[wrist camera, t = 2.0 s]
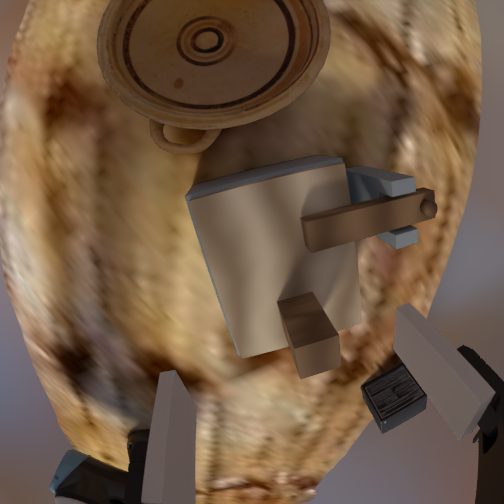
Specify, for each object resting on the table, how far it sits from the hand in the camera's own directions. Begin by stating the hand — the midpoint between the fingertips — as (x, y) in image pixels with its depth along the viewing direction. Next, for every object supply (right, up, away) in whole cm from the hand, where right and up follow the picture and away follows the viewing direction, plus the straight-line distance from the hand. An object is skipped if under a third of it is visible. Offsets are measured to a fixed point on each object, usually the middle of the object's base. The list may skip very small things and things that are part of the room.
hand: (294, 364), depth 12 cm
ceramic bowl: (-7, +31, +16) cm, 35 cm away
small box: (+26, -23, +40) cm, 52 cm away
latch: (+10, +9, +15) cm, 20 cm away
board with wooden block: (+2, +3, +18) cm, 18 cm away
